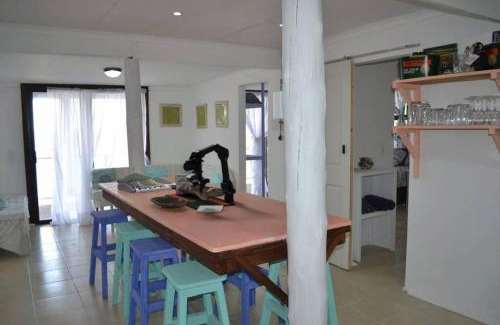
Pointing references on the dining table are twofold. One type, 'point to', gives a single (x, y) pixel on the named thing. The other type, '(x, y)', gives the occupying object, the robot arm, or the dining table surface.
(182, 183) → the candy bar box
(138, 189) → the holder
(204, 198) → the walnut block
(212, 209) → the grey mat
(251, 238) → the dining table surface
